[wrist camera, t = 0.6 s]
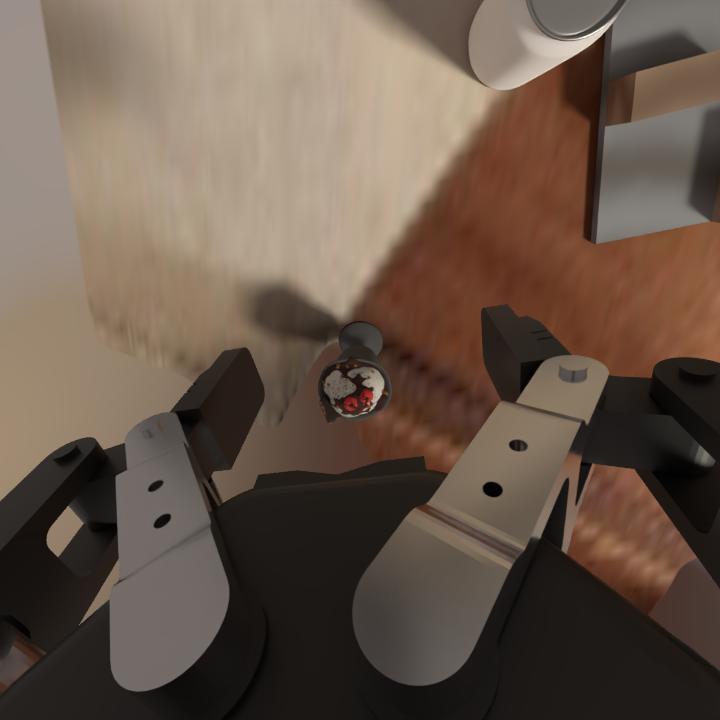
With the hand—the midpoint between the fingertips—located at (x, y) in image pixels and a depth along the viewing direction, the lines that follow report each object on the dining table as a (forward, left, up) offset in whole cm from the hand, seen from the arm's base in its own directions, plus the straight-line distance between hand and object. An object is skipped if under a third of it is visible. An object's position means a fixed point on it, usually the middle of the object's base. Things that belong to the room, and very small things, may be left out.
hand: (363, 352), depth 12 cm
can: (-12, +13, -26) cm, 31 cm away
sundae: (+11, -4, -26) cm, 29 cm away
